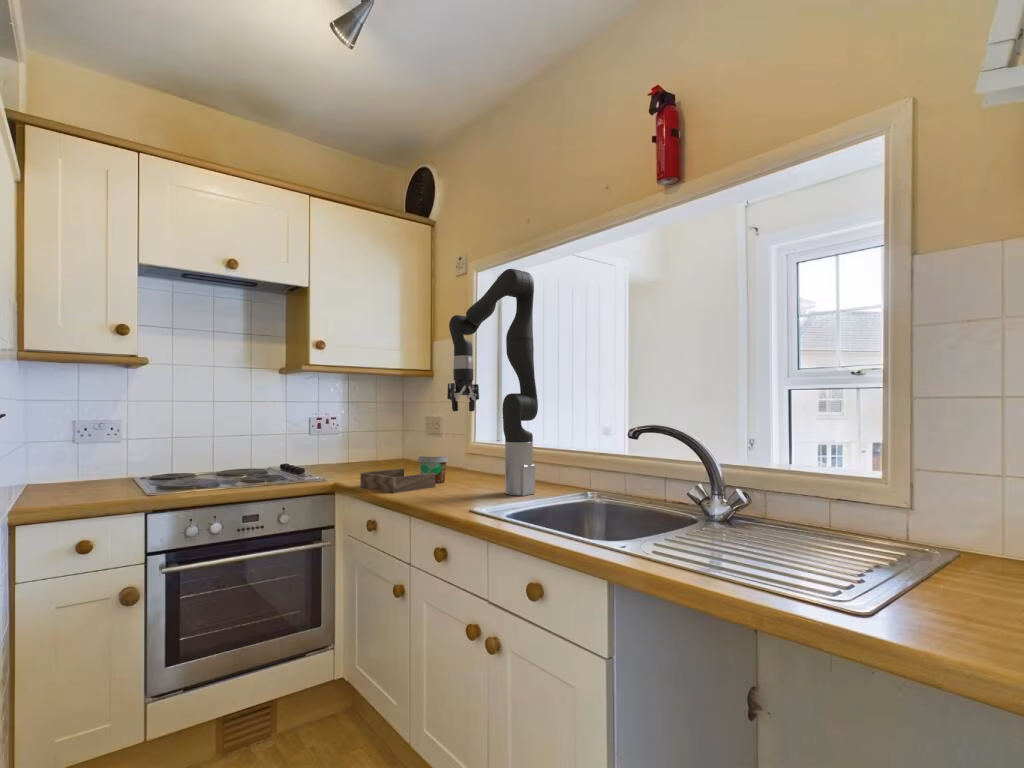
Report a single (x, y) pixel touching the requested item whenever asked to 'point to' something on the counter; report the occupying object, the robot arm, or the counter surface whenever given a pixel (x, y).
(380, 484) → the walnut box
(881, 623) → the counter surface
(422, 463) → the food container
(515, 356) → the robot arm
